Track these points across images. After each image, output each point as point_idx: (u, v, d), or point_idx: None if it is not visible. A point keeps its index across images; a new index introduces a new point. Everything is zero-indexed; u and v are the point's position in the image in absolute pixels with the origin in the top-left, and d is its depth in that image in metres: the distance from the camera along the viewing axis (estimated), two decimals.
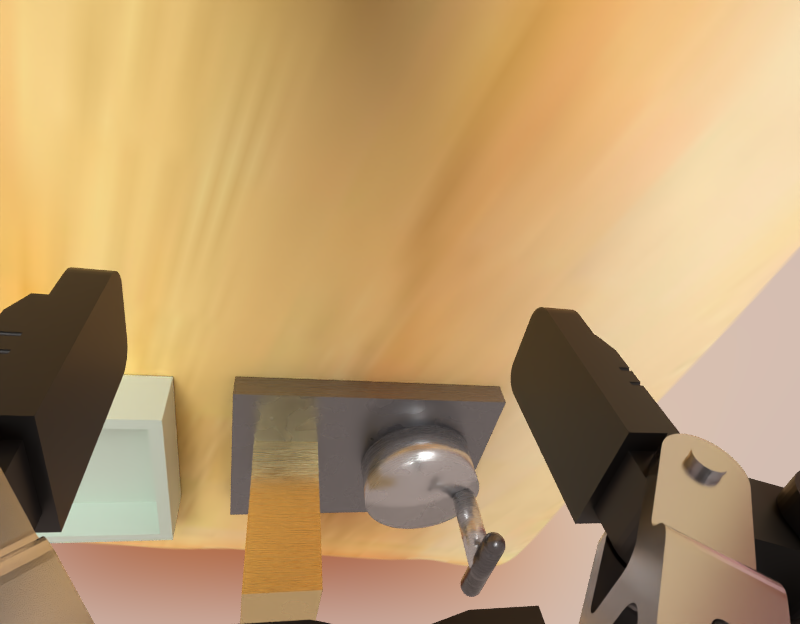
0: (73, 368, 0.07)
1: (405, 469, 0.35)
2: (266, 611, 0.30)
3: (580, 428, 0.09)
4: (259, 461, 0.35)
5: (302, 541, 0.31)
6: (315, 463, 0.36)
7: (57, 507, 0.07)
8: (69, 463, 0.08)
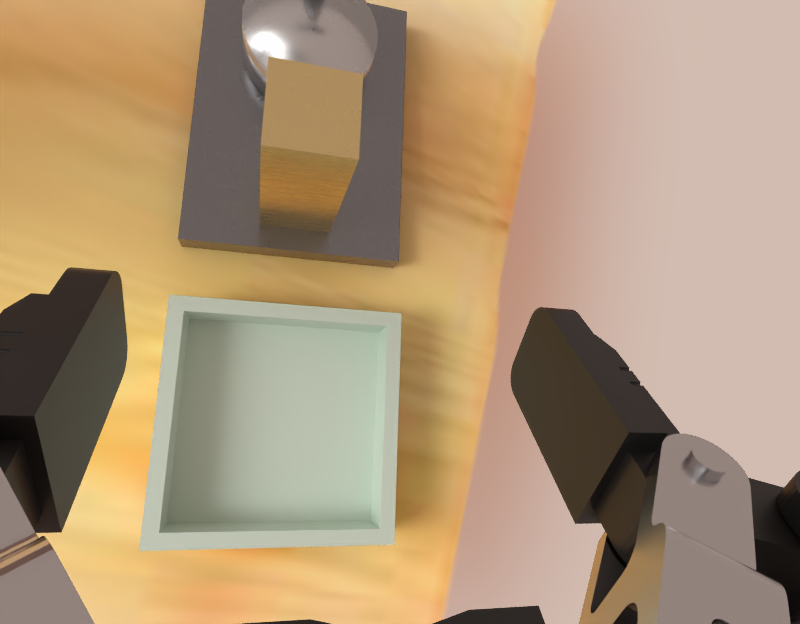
0: (73, 368, 0.07)
1: (255, 43, 0.31)
2: (312, 122, 0.24)
3: (580, 428, 0.09)
4: None
5: None
6: None
7: (58, 506, 0.07)
8: (69, 463, 0.08)
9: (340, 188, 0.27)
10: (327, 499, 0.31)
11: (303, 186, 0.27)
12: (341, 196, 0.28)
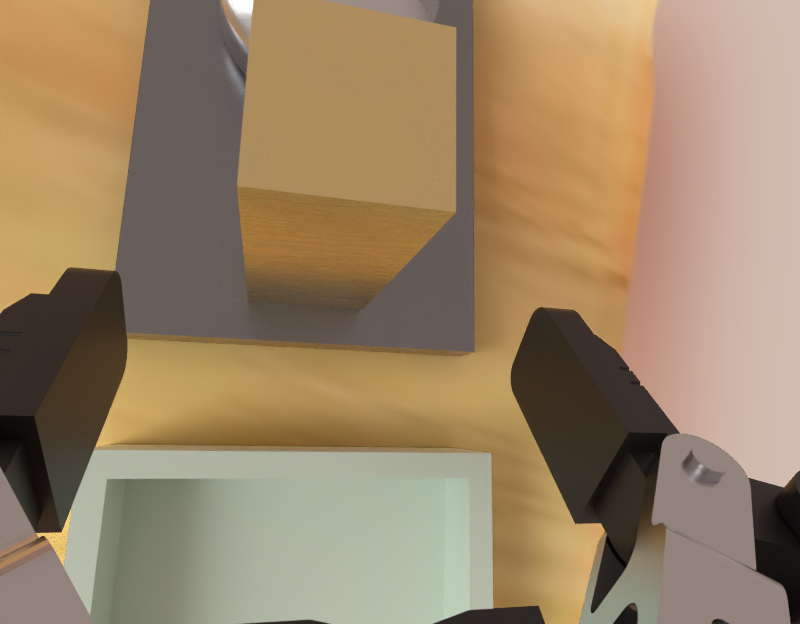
0: (73, 368, 0.07)
1: None
2: (354, 133, 0.11)
3: (580, 428, 0.09)
4: None
5: None
6: None
7: (57, 507, 0.07)
8: (69, 463, 0.08)
9: (400, 256, 0.14)
10: None
11: (327, 255, 0.14)
12: (397, 268, 0.15)
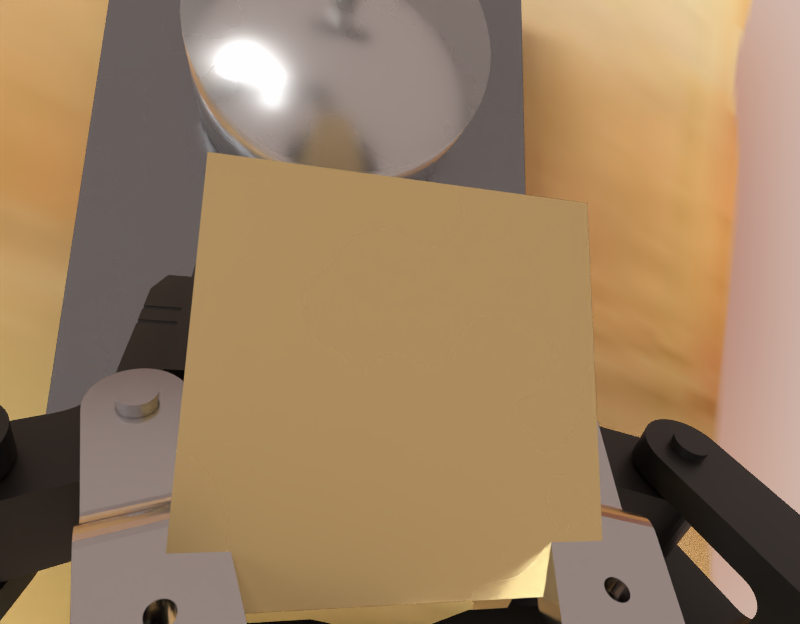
0: None
1: (213, 69, 0.13)
2: (407, 449, 0.05)
3: None
4: None
5: None
6: None
7: None
8: None
9: None
10: None
11: None
12: None
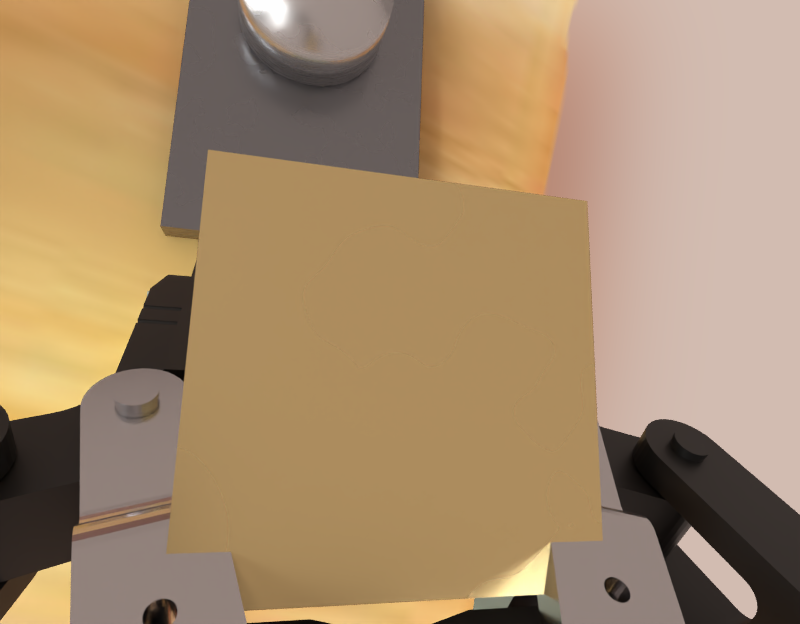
0: None
1: None
2: (408, 446, 0.05)
3: None
4: None
5: None
6: None
7: None
8: None
9: None
10: None
11: None
12: None
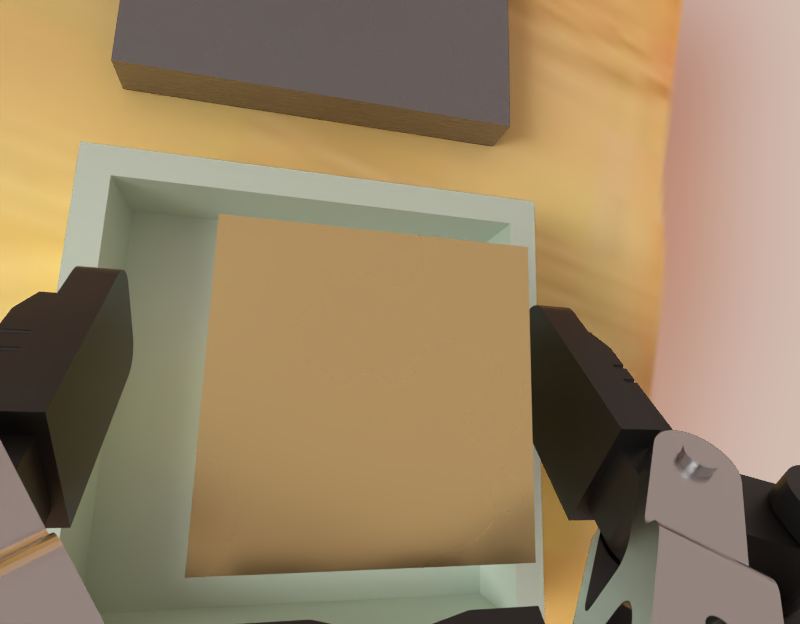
0: (82, 365, 0.07)
1: None
2: (377, 448, 0.07)
3: (574, 425, 0.09)
4: None
5: None
6: None
7: (67, 502, 0.07)
8: (78, 460, 0.08)
9: None
10: None
11: None
12: None
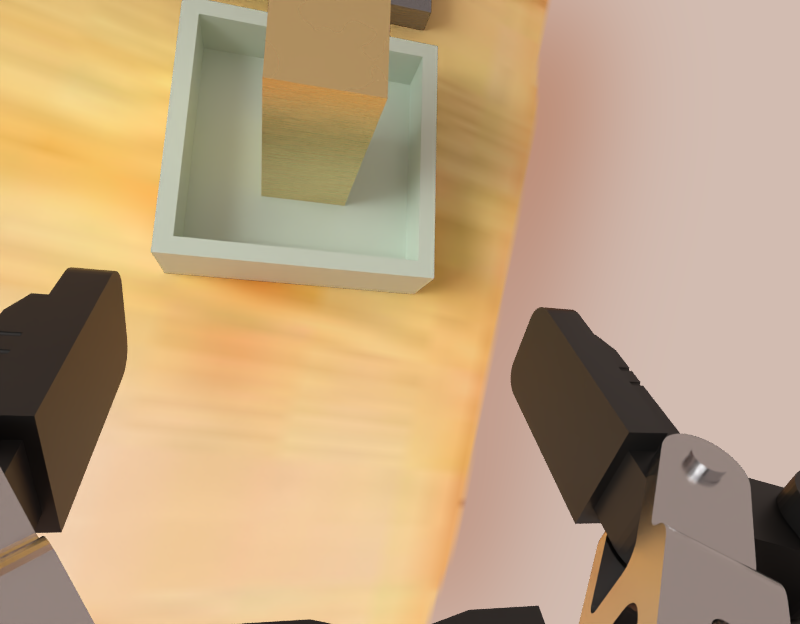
0: (73, 368, 0.07)
1: None
2: (328, 51, 0.18)
3: (580, 428, 0.09)
4: None
5: None
6: None
7: (58, 507, 0.07)
8: (69, 463, 0.08)
9: (361, 141, 0.22)
10: (356, 247, 0.28)
11: (315, 141, 0.22)
12: (361, 154, 0.23)
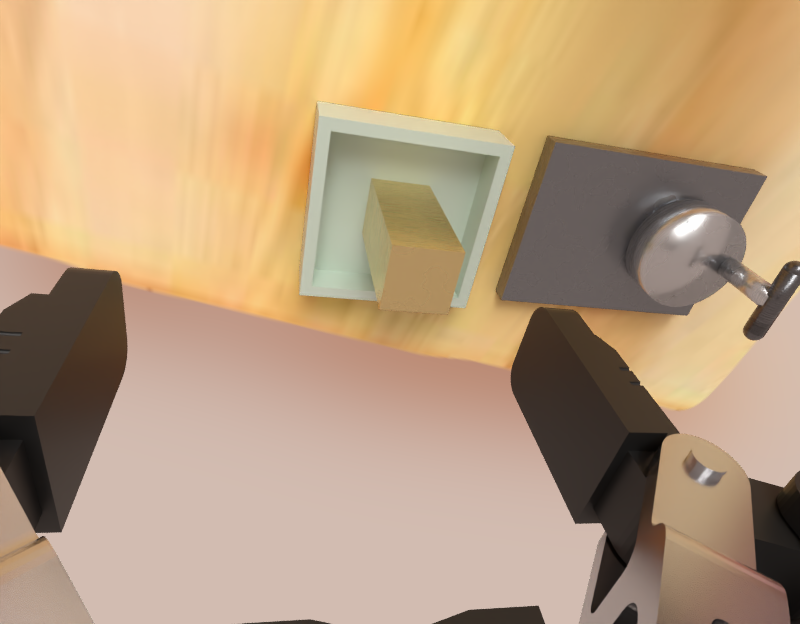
0: (73, 368, 0.07)
1: (693, 223, 0.39)
2: (409, 280, 0.31)
3: (580, 428, 0.09)
4: (380, 188, 0.36)
5: (436, 228, 0.32)
6: (432, 195, 0.37)
7: (58, 507, 0.07)
8: (69, 463, 0.08)
9: (373, 276, 0.34)
10: (330, 239, 0.39)
11: (377, 247, 0.33)
12: (371, 270, 0.35)
